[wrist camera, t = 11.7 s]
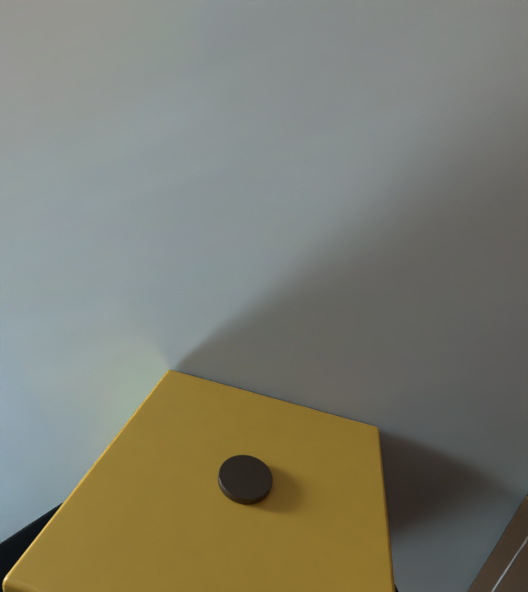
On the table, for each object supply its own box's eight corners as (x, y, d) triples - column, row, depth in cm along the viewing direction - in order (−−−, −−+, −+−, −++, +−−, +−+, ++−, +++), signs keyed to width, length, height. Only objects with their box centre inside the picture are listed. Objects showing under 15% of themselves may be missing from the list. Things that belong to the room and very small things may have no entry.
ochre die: (326, 569, 10) (308, 898, 6) (153, 514, 10) (16, 775, 6) (381, 421, 8) (417, 740, 4) (168, 362, 8) (-13, 586, 4)
